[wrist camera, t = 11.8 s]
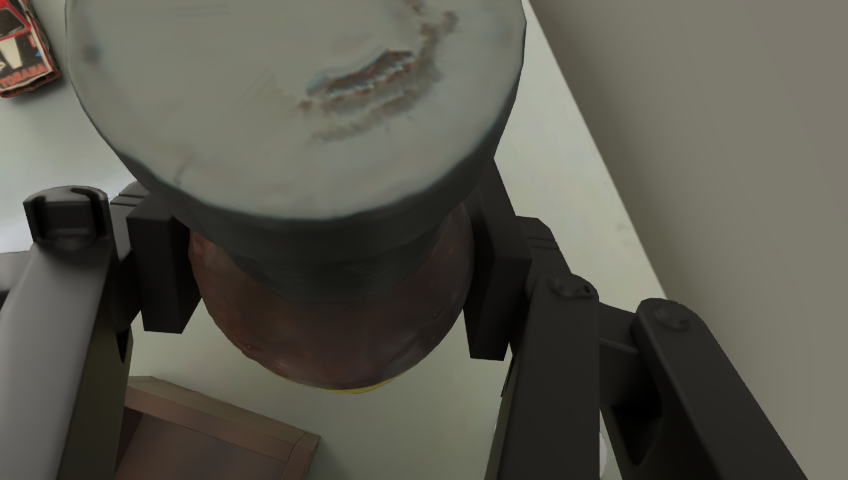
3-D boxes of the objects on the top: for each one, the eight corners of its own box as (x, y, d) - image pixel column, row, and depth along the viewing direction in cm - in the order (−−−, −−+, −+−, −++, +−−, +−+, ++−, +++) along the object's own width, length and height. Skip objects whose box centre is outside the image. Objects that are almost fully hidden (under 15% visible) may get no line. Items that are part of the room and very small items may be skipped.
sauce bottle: (424, 386, 23) (749, 437, 4) (277, 398, 22) (-212, 531, 3) (414, 242, 25) (611, -222, 6) (277, 247, 24) (-49, -279, 5)
